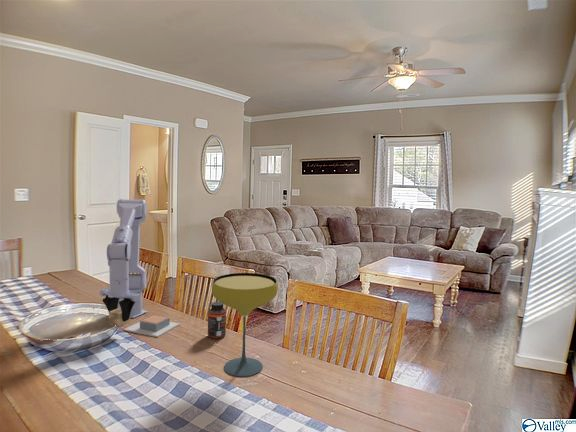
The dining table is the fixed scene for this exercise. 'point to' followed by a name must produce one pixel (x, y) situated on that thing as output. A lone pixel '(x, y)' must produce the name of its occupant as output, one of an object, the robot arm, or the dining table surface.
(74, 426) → the dining table surface
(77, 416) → the dining table surface
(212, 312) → the supplement bottle
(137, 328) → the base
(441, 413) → the dining table surface
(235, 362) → the cocktail glass
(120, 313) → the maple block
